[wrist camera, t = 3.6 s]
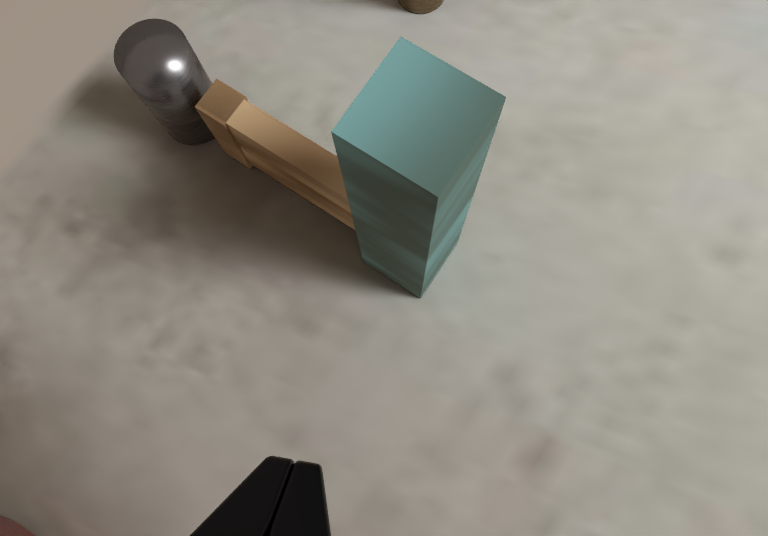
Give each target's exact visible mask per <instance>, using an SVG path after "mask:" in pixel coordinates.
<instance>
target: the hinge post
mask: <svg viewBox="0 0 768 536" xmlns="http://www.w3.org/2000/svg"><path fill="white" fill-rule="evenodd" d="M114 62H115V65H116V68H117V70H118V72H119V73H120V74H121V75H122V77H123V78H124V79H125V80H126V82H127V83H128V84H129V85H130V86H131V88H132V89H133V90H134V91H135V92H136V94H137V95H138V96H139V97H140V99H141V100H142V101H143V102H144V103H145V105H146V106H147V107H148V108H149V109H150V111H151V112H152V113H153V114H154V115H155V117H156V118H157V119H158V120H159V122H160V123H161V124H162V125H163V126H164V128H165V129H166V130H167V131H168V132H169V134H170V135H171V136H172V137H173V138H174V139H176V140H177V141H179V142H181V143H184V144H189V145H196V144H202V143H205V142H207V141H209V140H211V139H212V138H214V135H213V134H212V132H211V131H210V129H209V128H208V126H207V125H206V123H205V122H204V120H203V119H202V117H201V116H200V114H199V113H198V111H197V110H196V108H195V106H196V104H197V103H198V102H199V101H200V99H201V98H202V97H203V96H204V94H205V93H206V92H207V90H208V89H209V88H210V87H211V85H212V82H211V81H210V79H209V77H208V75H207V74H206V72H205V70H204V68H203V67H202V65H201V63H200V61H199V60H198V58H197V56H196V54H195V53H194V51H193V49H192V47H191V46H190V44H189V42H188V40H187V39H186V37H185V35H184V33H183V32H182V31H181V29H179V28H178V27H177V26H176V25H175V24H173V23H171V22H169V21H166V20H162V19H147V20H143V21H140V22H137V23H135V24H133V25H132V26H130V27H129V28H128V29H126V30H125V31H124V32H123V33H122V35H121V36H120V37H119V39H118V41H117V43H116V46H115V49H114Z"/></svg>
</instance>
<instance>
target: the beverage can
mask: <svg viewBox="0 0 768 536" xmlns="http://www.w3.org/2000/svg"><path fill="white" fill-rule="evenodd" d="M0 536H35V535H34V534H32V533H31V532H30V531H29V530H27V529H26V528H25V527H23V526H21V525H20V524H18V523H16V522H14V521H12V520H9V519H6V518H3V517H0Z"/></svg>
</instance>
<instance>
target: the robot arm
mask: <svg viewBox="0 0 768 536" xmlns="http://www.w3.org/2000/svg"><path fill="white" fill-rule="evenodd" d="M190 536H331V532H330V524H329V517H328V509H327V502H326V494H325V487H324V480H323V472H322V467H321V466H320V465H319V464H316V463H311V462H305V461H297V462H296V463H294V461H293V460H291V459H288V458H282V457H276V456H269V457H267V458H266V459H265V460H264V461H263V462H262V463H261V464H260V465H259V466H258V467H257V468H256V469H255V470H254V471H253V472H252V473H251V474H250V475H249V476H248V477H247V478H246V479H245V480H244V481H243V482H242V483H241V484H240V485H239V486H238V487H237V488H236V489H235V490H234V491H233V492H232V493H231V494H230V495H229V496H228V497H227V498H226V499H225V500H224V501H223V502H222V503H221V504H220V505H219V506H218V507H217V508H216V509H215V511H214V512H213V513H212V514H211V515H210V516H209V517H208V518H207V519H206V520H205V521H204V522H203V523H202V524H201V525H200V526H199V527H198V528H197V529H196V530H195V531H194V532H193V533H192V534H191V535H190Z"/></svg>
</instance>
